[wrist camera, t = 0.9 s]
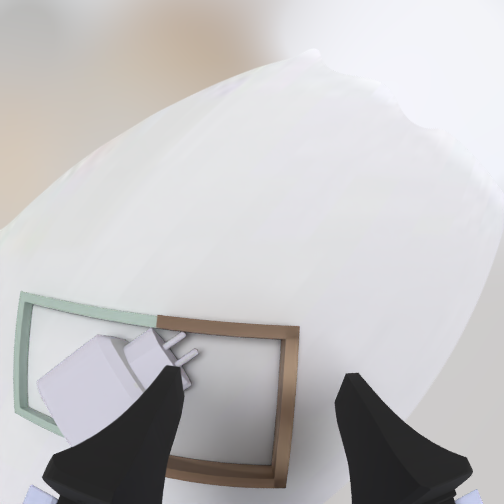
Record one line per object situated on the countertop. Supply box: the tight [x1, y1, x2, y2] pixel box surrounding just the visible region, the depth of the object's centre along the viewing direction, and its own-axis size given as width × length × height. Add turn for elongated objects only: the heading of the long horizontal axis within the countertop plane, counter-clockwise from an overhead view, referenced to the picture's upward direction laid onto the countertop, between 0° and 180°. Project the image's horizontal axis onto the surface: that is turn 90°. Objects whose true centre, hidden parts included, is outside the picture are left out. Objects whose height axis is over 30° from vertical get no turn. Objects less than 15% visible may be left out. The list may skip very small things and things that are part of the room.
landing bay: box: [13, 291, 166, 438], centre depth 21 cm, size 14×18×2 cm
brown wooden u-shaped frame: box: [156, 315, 300, 488], centre depth 20 cm, size 14×11×3 cm
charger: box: [37, 327, 199, 447], centre depth 20 cm, size 5×9×15 cm
